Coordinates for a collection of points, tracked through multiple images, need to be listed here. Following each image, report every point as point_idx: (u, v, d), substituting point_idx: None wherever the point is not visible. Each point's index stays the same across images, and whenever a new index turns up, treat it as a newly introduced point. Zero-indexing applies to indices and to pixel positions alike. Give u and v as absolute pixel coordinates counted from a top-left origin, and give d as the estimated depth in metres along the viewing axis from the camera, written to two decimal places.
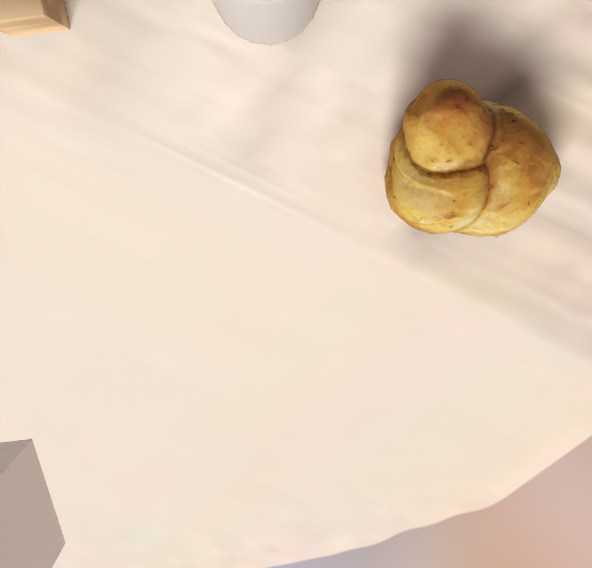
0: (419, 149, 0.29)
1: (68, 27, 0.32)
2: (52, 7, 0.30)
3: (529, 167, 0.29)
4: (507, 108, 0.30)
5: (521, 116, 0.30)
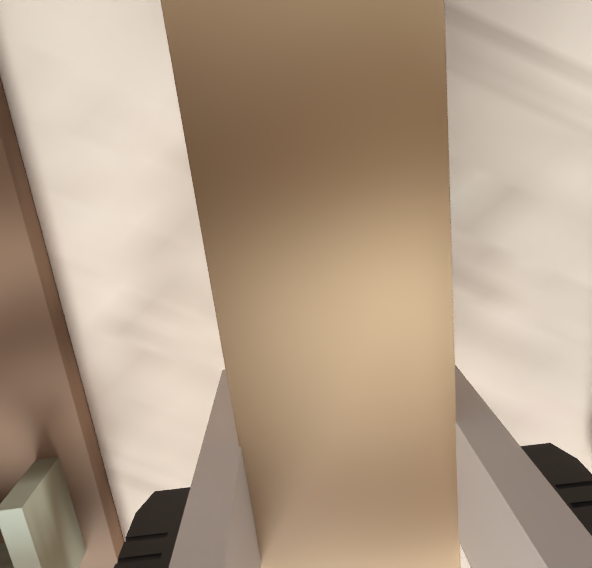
0: None
1: None
2: None
3: None
4: None
5: None
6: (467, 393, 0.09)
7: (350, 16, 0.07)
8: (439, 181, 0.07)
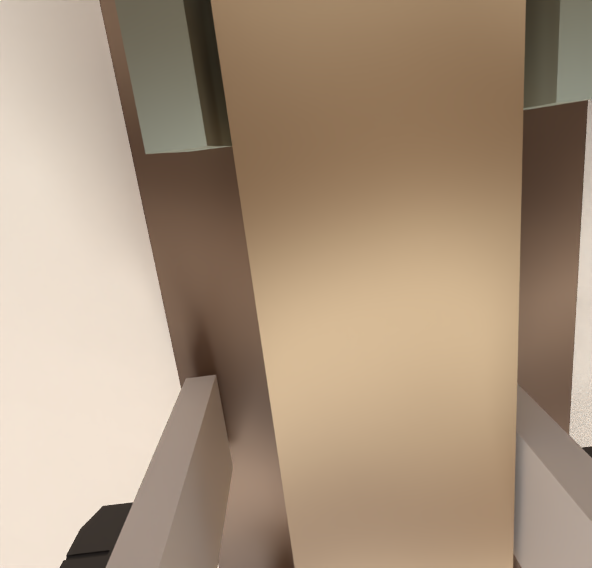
0: None
1: None
2: None
3: None
4: None
5: None
6: None
7: None
8: (510, 182, 0.07)
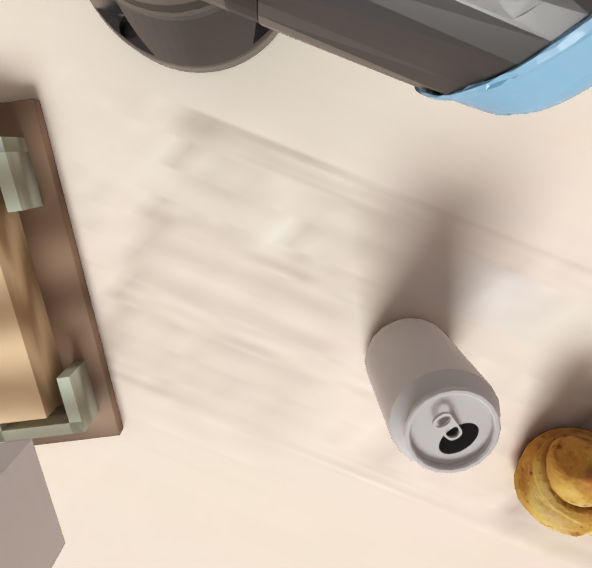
0: (562, 491, 0.38)
1: None
2: (53, 398, 0.37)
3: None
4: None
5: None
6: None
7: None
8: None
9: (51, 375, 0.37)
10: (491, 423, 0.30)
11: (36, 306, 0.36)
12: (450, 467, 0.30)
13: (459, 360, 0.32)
